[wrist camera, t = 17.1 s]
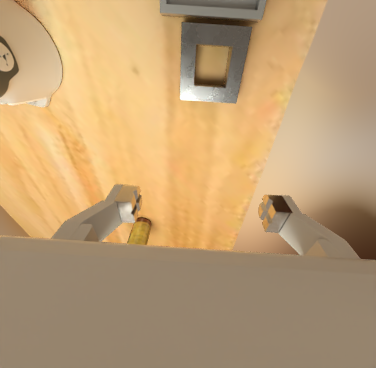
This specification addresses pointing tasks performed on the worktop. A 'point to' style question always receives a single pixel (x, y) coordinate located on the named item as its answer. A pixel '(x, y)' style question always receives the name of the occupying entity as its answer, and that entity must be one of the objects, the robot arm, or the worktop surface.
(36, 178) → the worktop surface
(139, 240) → the sauce bottle
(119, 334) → the robot arm
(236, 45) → the receiver
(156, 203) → the worktop surface
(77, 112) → the worktop surface
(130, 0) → the worktop surface
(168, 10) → the tray
